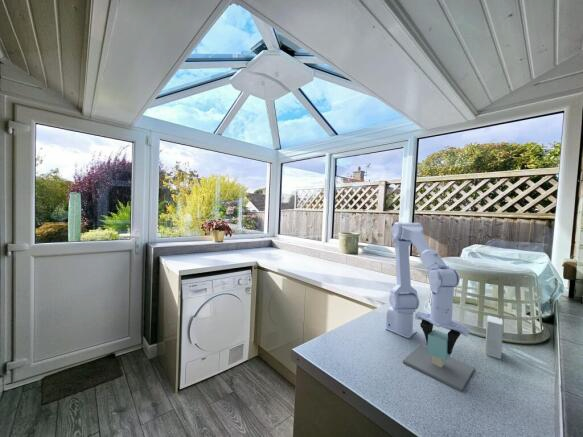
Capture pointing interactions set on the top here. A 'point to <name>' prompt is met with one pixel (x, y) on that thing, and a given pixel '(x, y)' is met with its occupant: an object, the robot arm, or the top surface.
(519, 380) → the top surface
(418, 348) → the post board
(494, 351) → the skincare box
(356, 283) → the top surface
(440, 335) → the mint green cube
